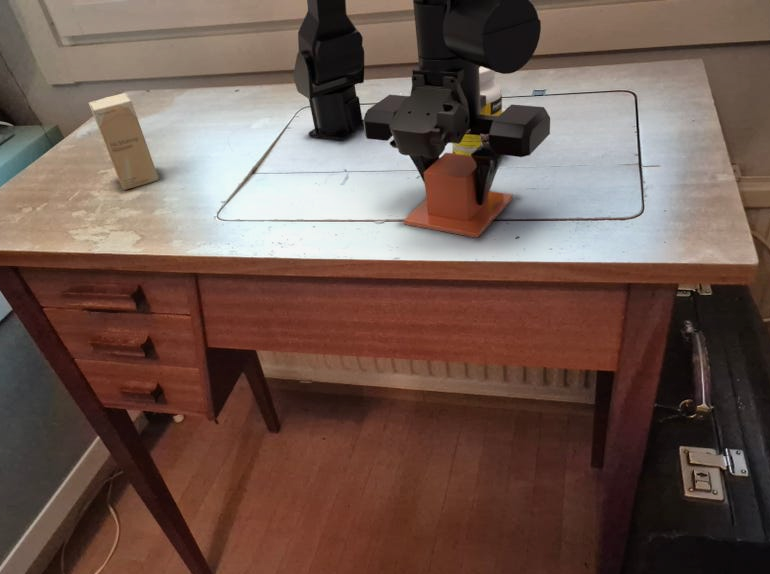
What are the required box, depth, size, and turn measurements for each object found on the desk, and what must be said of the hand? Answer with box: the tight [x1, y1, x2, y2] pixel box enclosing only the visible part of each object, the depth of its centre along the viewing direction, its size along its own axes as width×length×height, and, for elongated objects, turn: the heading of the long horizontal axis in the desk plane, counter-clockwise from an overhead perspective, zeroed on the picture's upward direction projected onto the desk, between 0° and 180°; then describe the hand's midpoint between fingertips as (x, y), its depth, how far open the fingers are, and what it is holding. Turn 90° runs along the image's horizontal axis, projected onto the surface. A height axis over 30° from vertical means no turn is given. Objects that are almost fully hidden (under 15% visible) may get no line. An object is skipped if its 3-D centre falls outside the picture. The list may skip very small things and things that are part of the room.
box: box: [88, 92, 160, 191], centre depth 89 cm, size 5×4×11 cm
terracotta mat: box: [403, 191, 514, 239], centre depth 73 cm, size 9×9×1 cm
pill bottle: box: [451, 66, 503, 156], centre depth 79 cm, size 6×6×11 cm
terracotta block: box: [424, 152, 488, 221], centre depth 71 cm, size 5×5×5 cm
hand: (458, 199), depth 72 cm, fingers open, 5 cm apart
